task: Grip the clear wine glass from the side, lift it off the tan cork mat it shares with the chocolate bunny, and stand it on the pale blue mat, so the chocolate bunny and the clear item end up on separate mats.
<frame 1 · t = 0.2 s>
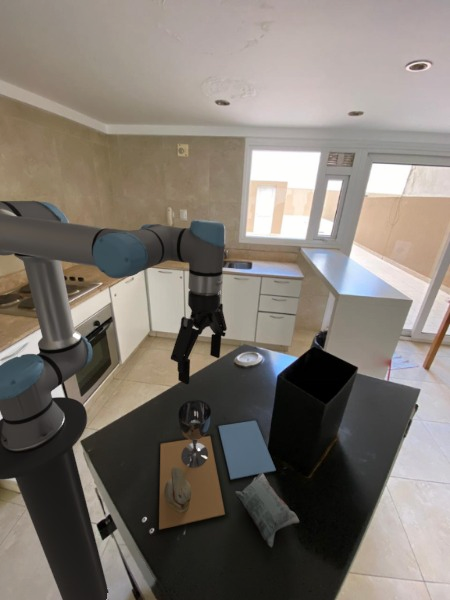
hand: (200, 367, 66), 23 cm above the table, tool pointing down, fingers open, 13 cm apart
mat brown: (188, 475, 63), on the table
mat blue: (244, 446, 71), on the table
packaged food: (264, 511, 56), on the table
wine glass: (194, 455, 68), resting on mat brown
chocolate bunny: (177, 499, 58), resting on mat brown
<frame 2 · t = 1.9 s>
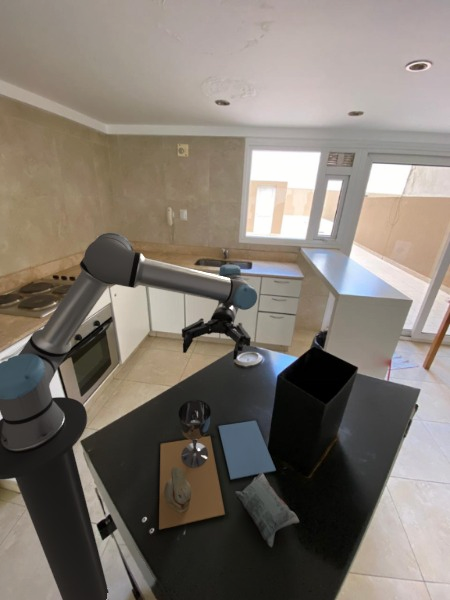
hand: (209, 351, 66), 27 cm above the table, tool horizontal, fingers open, 13 cm apart
nothing on the table moved.
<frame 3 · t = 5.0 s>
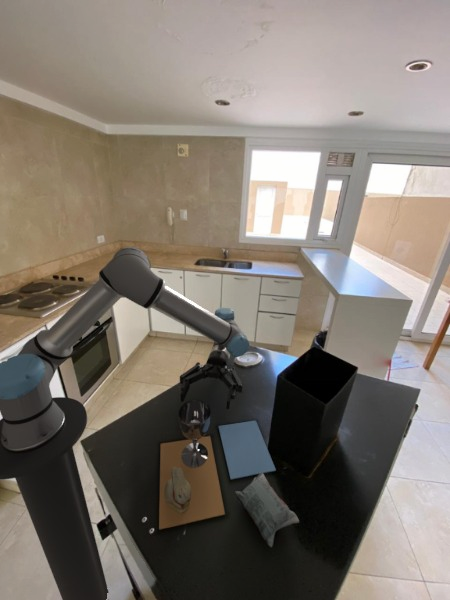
hand: (204, 401, 73), 10 cm above the table, tool horizontal, fingers open, 13 cm apart
nothing on the table moved.
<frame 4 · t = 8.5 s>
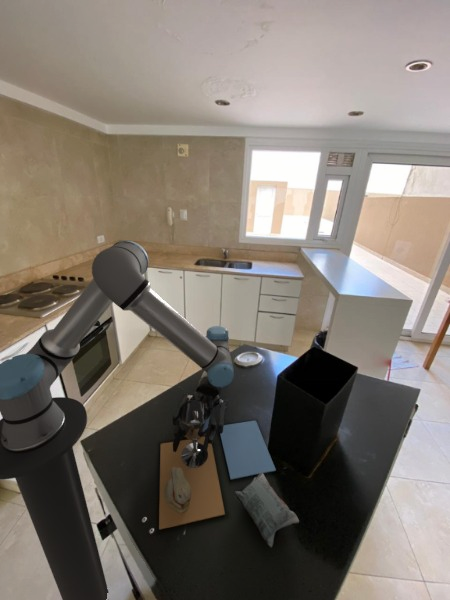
hand: (188, 450, 60), 8 cm above the table, tool horizontal, fingers closed on wine glass, 6 cm apart
wine glass: (194, 455, 68), resting on mat brown, touching gripper
everything else where it was.
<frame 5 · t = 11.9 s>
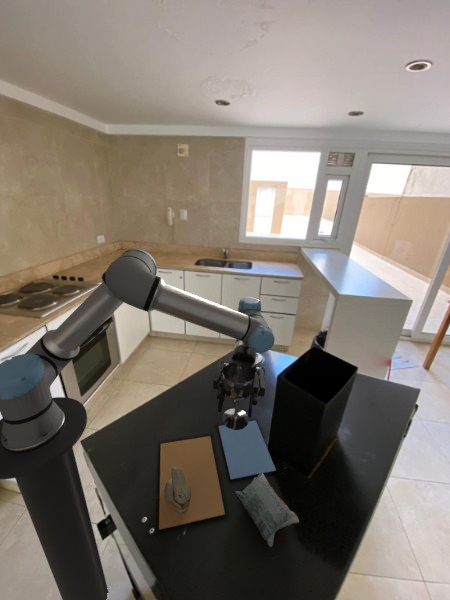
hand: (234, 410, 60), 18 cm above the table, tool horizontal, fingers closed on wine glass, 6 cm apart
wine glass: (235, 419, 67), point 10 cm above the table, touching gripper
everything else where it was.
when the fingers open (8 cm above the table, at t = 15.3 s): wine glass stays where it is, resting on mat blue.
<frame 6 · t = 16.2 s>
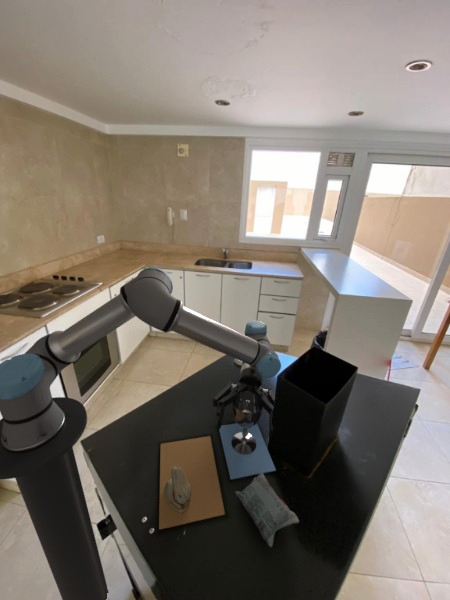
hand: (244, 429, 66), 9 cm above the table, tool horizontal, fingers open, 13 cm apart
wine glass: (243, 443, 72), resting on mat blue
everything else where it was.
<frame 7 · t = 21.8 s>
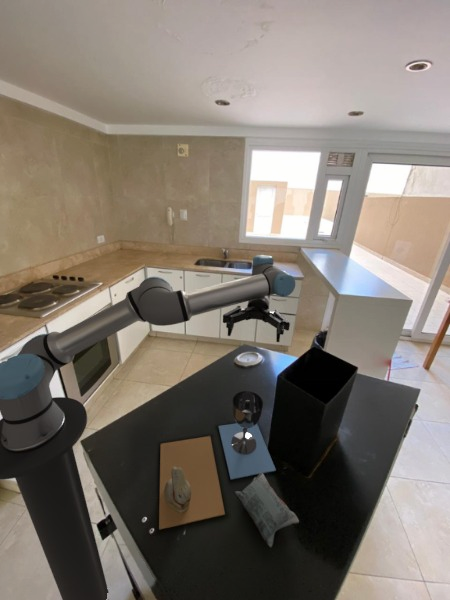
hand: (253, 334, 69), 30 cm above the table, tool horizontal, fingers open, 13 cm apart
nothing on the table moved.
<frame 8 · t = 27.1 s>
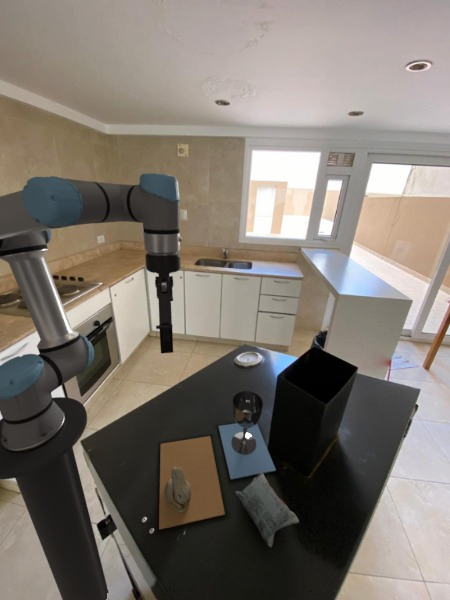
hand: (166, 337, 63), 32 cm above the table, tool pointing down, fingers open, 13 cm apart
nothing on the table moved.
at the end: wine glass inside the target area on the mat blue (1.0 cm from its centre), point 0.1 cm above the mat blue's base; wine glass tilted 0°; chocolate bunny inside the target area on the mat brown (5.8 cm from its centre), point 0.1 cm above the mat brown's base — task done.
